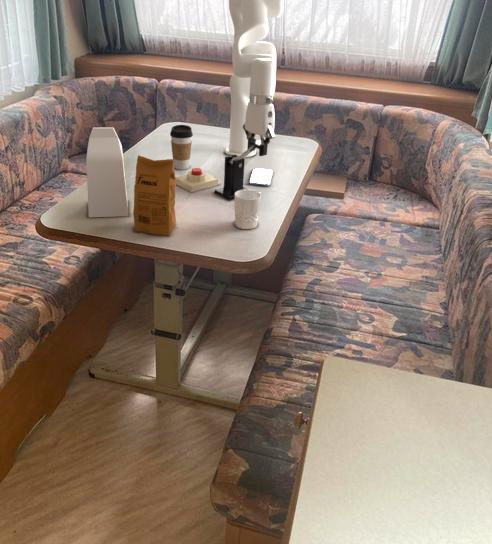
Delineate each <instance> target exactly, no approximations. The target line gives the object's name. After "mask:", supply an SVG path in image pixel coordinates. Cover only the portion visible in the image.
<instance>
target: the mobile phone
mask: <svg viewBox="0 0 492 544" xmlns="http://www.w3.org/2000/svg"><path fill="white" fill-rule="evenodd" d="M273 173H274V171H273V170H272V169H265V168H253V169H252V172H251V175H250V177H249V180H248V184H250V185H254V186H264V187H269V186H270V185H271V182H272V178H273Z"/></svg>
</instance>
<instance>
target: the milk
mask: <svg viewBox="0 0 492 544" xmlns="http://www.w3.org/2000/svg"><path fill="white" fill-rule="evenodd" d="M86 151H87V152H86V161H85V162H86V187H87V207H88V208H87V209H88V210H87V213H88V218H109V217H114V218H115V217H129V206H128V202H129V201H128V192H127V183H126V172H125V161H124V152H123V146H122V142H121V141H120V138H119V136H118V134H117V132H116V130H115V128H114V126H104V127H103V126H101V127H99V126H98V127H95V126H94V127H92V129H91V132H90V134H89V137H88V143H87V150H86Z"/></svg>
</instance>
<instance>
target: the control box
mask: <svg viewBox="0 0 492 544" xmlns="http://www.w3.org/2000/svg"><path fill="white" fill-rule="evenodd" d="M191 172H192V170H189V171H187V173H186V174H183V175H179V176H175V179H176V185H177V186H179V187H181V188H182V189H184V190H187V191H189V192H190V193H195V192H198V191H202V190H206V189H208V188H212V187H216V186H218V185H219V178H217V177H215V176H213V175H212V174H209V173H207V172H206V171H204V170H202V175H199V176H195V175H192V174H191Z"/></svg>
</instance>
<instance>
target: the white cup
mask: <svg viewBox="0 0 492 544" xmlns="http://www.w3.org/2000/svg"><path fill="white" fill-rule="evenodd" d="M261 199H262V193H261V192H260V191H258V190H254V189H250V188H249V189H248V188H247V189H244V190H239V191H236V192H235V199H234V224H235V227H237V228H239V229H242V230H252V229H255V228H256V227H257V226H258V220H259V216H260V214H259V213H260V208H261V201H262V200H261Z"/></svg>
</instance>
